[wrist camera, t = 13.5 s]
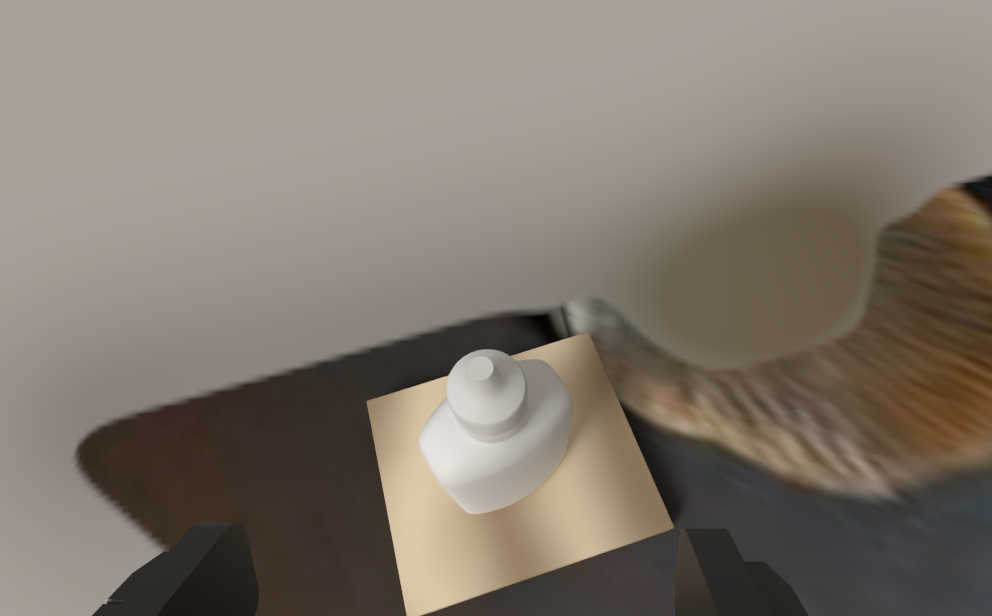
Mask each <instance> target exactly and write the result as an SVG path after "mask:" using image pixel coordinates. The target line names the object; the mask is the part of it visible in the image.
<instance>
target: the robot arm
mask: <svg viewBox="0 0 992 616" xmlns="http://www.w3.org/2000/svg"><path fill="white" fill-rule="evenodd" d="M258 596H259V591H258V584H257V579H256V575H255V570H254V565H253V561H252V556H251V552H250V547H249V542H248V538H247V533H246V530H245V528H244V526H243V525H242V524H241V523H226V522H200V523H197V524H195V525H193V526H192V527H191V528H190V529H189V530H188V531H187V532H186V533H185V534H184V536H183V537H182V538H181V539H180V540H179V541H178V542H177V543H176V544H175V545H174V546H173V548H172V549H171V550H170V551H169V552H163V553H161V554H160V555H158V556H157V557H155V558H154V559H152V560H151V561H149V562H148V563H147V564H145V565H144V566H142V567H141V568H139V569H138V570H136V571H135V572H134V573H132V574H131V575H130V576H129V577H128V578H127V579H126V581H125V582H124V583H123V584H122V585H121V586H120V587H119V588H118V589H117V590H116V591H115V592H114V593H113V594H112V595H111V596H110V597H109V598H108V602H107V604H103V605H102V606H101V607H100V608H99V609H98V610H97V611H96V612H95V613H94V614H93V615H92V616H255V613H256V610H257V605H258ZM675 612H676V616H808V614H807V613H806V611H805V609H804V608H803V606H802V604H801V602H800V601H799V599H798V597H797V596H796V594H795V592H794V590H793V589H792V587H791V586H790V585H789V584H788V583H787V582H785V581H784V580H783V579H782V578H781V577H780V576H779V575H778V574H777V573H776V572H774V571H773V570H772V569H771V568H770V567H769V566H768V565H767V564H766V563H765V562H744V560H743V558H742V556H741V554H740V552H739V550H738V548H737V546H736V544H735V542H734V540H733V538H732V536H731V535H730V533H729V532H728V531H727V530H726V529H698V528H682V529H681V530H680V532H679V539H678V555H677V571H676V587H675Z"/></svg>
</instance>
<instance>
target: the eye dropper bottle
mask: <svg viewBox="0 0 992 616" xmlns="http://www.w3.org/2000/svg"><path fill="white" fill-rule="evenodd" d="M447 379H448V381H447V382H446V383H447V385H446V392H447V393H446V396H447V397H446V398H445V399H444V400H443V401H442V402H441V404H440V405H439V406H438V407H437V408H436V409H435V411H434V412H433V413H432V414H431V416H430V417H429V419H428V420H427V421H426V423H425V425H424V426H423V428H422V430H421V432H420V435H419V438H418V443H419V448H420V451H421V453H422V455H423V457H424V459H425V461H426V462H427V464H428V466H429V468H430V470H431V471H432V473H433V475H434V476H435V478H436V480H437V481H438V482H439V484H440V485H441V486H442V487H443V488H444V489H445V491H446V492H447V493H448V494H449V495H450V496H451V497H452V498H453V499H454V500H455V501H456V502H457V503H458V504H459V505H460V506H461V507H462V508H463V509H464V510H465V511H466V512H467V513H470V514H482V513H487V512H491V511H495V510H498V509H501V508H504V507H507V506H509V505H511V504H514V503H516V502H518V501H519V500H521V499H523V498H524V497H526V496H528V495H529V494H530V493H532V492H533V491H534V490H536V489H537V488H538V487H539V486H540V485H541V484H542V483H544V482H545V481H546V479H547V478H548V477H549V476H550V475H551V474H552V473H553V472H554V470H555V469H556V468H557V466H558V465H559V463H560V462H561V460H562V459H563V457H564V455H565V453H566V449H567V444H568V437H569V430H570V423H571V415H572V403H573V402H572V398H571V395H570V392H569V390H568V389H567V387H566V385H565V384H564V383H563V381H562V380H561V379H560V377H559V376H558V375H557V373H556V372H555V371H554V370H553V368H552V367H551V366H550V365H549V364H548V363H546V362H545V361H543V360H538V359H530V360H520V361H515V359H514V358H511V356H508V354H505V353H504V352H501V351H497V350H493V349H491V350H489V349H487V350H485V349H483V350H479V351H475V352H472V353H471V354H468V355H466V356H464V358H461V360H459V361H458V363H456V364H455V366H454V367H453V369H452V370H451V373H450V374H449V377H448V378H447Z"/></svg>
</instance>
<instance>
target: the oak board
mask: <svg viewBox="0 0 992 616" xmlns="http://www.w3.org/2000/svg"><path fill="white" fill-rule="evenodd" d="M511 358H514V359H515V361H520V360H530V359H538V360H543V361H545V362H546V363H548V364H549V365H550V366H551V367H552V368H553V370H554V371H555V372H556V373H557V375H558V376H559V377H560V379H561V380H562V381H563V383H564V384H565V385H566V387H567V389H568V390H569V392H570V395H571V398H572V402H573V403H572V415H571V423H570V430H569V437H568V444H567V449H566V453H565V455H564V457H563V459H562V460H561V462H560V463H559V465H558V466H557V468H556V469H555V470H554V472H553V473H552V474H551V475H550V476H549V477H548V478H547V479H546V481H545V482H544V483H542V484H541V485H540V486H539V487H538V488H537V489H536V490H534V491H533V492H532V493H530V494H529V495H528V496H526V497H524V498H523V499H521V500H519V501H518V502H516V503H514V504H511V505H509V506H507V507H504V508H501V509H498V510H495V511H491V512H487V513H482V514H470V513H467V512H466V511H465V510H464V509H463V508H462V507H461V506H460V505H459V504H458V503H457V502H456V501H455V500H454V499H453V498H452V497H451V496H450V495H449V494H448V493H447V492H446V491H445V489H444V488H443V487H442V486H441V485H440V484H439V482H438V481H437V480H436V478H435V476H434V475H433V473H432V471H431V470H430V468H429V466H428V464H427V462H426V461H425V459H424V457H423V455H422V453H421V451H420V448H419V443H418V438H419V435H420V432H421V430H422V428H423V426H424V425H425V423H426V421H427V420H428V419H429V417H430V416H431V414H432V413H433V412H434V411H435V409H436V408H437V407H438V406H439V405H440V404H441V402H442V401H443V400H444V399H445V398H446V397H447V396H446V393H447V392H446V385H447V383H446V382H447V381H448V379H447V378H448V377H449V376H446V377H442V378H439V379H436V380H433V381H430V382H426V383H423V384H420V385H417V386H414V387H411V388H407V389H404V390H401V391H398V392H395V393H391V394H388V395H385V396H382V397H379V398H375V399H372V400H369V401H367V406H368V411H369V416H370V422H371V427H372V432H373V438H374V443H375V448H376V454H377V459H378V464H379V470H380V475H381V480H382V486H383V491H384V496H385V502H386V507H387V512H388V518H389V523H390V528H391V534H392V539H393V544H394V550H395V555H396V560H397V566H398V571H399V576H400V582H401V587H402V592H403V598H404V603H405V608H406V614H407V616H422V615H425V614H428V613H431V612H434V611H437V610H440V609H443V608H445V607H448V606H451V605H454V604H457V603H460V602H463V601H466V600H469V599H472V598H474V597H477V596H480V595H483V594H486V593H489V592H492V591H495V590H498V589H501V588H503V587H506V586H509V585H512V584H515V583H518V582H521V581H524V580H527V579H530V578H532V577H535V576H538V575H541V574H544V573H547V572H550V571H553V570H556V569H558V568H561V567H564V566H567V565H570V564H573V563H576V562H579V561H582V560H585V559H587V558H590V557H593V556H596V555H599V554H602V553H605V552H608V551H611V550H614V549H616V548H619V547H622V546H625V545H628V544H631V543H634V542H637V541H640V540H643V539H645V538H648V537H651V536H654V535H657V534H660V533H663V532H666V531H669V530H671V529H672V528H674V526H673V524H672V521H671V519H670V517H669V515H668V512H667V510H666V508H665V505H664V503H663V501H662V499H661V496H660V494H659V492H658V489H657V487H656V485H655V483H654V480H653V478H652V476H651V473H650V471H649V469H648V467H647V464H646V462H645V460H644V457H643V455H642V453H641V451H640V448H639V446H638V444H637V441H636V439H635V437H634V435H633V432H632V430H631V428H630V425H629V423H628V421H627V419H626V416H625V414H624V412H623V409H622V407H621V405H620V403H619V400H618V398H617V396H616V393H615V391H614V389H613V387H612V384H611V382H610V380H609V377H608V375H607V373H606V371H605V368H604V366H603V364H602V362H601V359H600V357H599V355H598V352H597V350H596V348H595V346H594V343H593V341H592V339H591V336H590V334H589V332H586V333H583V334H580V335H576V336H573V337H570V338H567V339H564V340H561V341H557V342H554V343H551V344H548V345H545V346H541V347H538V348H535V349H532V350H529V351H525V352H522V353H519V354H516V355H513V356H511Z"/></svg>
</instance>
